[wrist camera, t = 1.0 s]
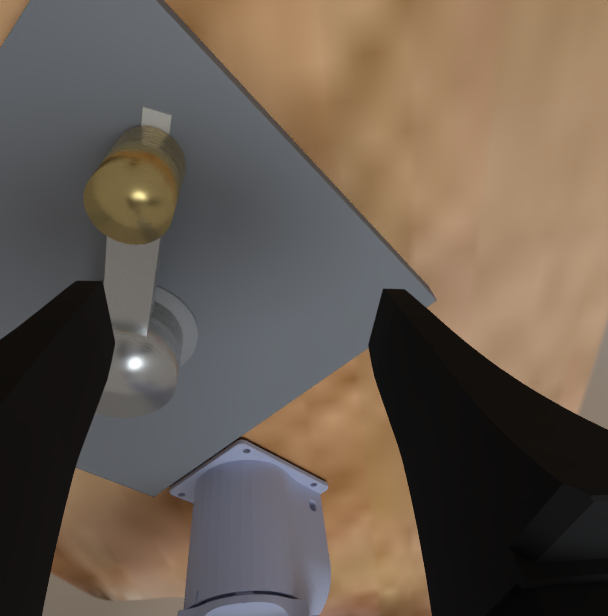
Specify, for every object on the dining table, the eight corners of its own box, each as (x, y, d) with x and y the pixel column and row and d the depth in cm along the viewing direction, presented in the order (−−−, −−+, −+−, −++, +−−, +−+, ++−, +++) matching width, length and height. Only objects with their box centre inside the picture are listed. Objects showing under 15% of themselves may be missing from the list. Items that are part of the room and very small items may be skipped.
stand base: (429, 287, 24) (437, 302, 23) (156, 481, 32) (153, 499, 31) (92, -78, 14) (78, -81, 12) (-180, 347, 22) (-202, 367, 21)
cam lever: (175, 377, 24) (165, 440, 21) (75, 364, 22) (48, 429, 19) (223, 146, 17) (218, 188, 13) (79, 106, 15) (37, 143, 12)
